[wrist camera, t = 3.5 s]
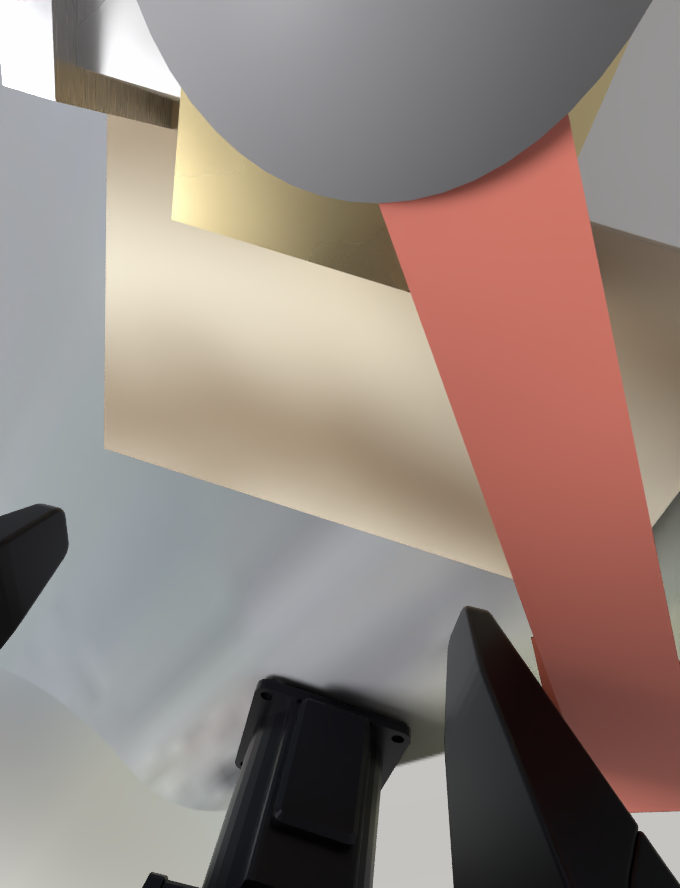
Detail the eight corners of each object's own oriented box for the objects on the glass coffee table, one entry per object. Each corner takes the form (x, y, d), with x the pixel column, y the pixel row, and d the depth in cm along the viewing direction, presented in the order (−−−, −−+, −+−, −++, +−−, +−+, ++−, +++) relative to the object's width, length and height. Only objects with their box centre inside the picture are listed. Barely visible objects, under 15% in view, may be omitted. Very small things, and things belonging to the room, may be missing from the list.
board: (583, 579, 15) (592, 604, 14) (123, 433, 15) (103, 448, 14) (1148, -200, 7) (1254, -258, 6) (153, -472, 7) (114, -565, 6)
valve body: (738, 353, 11) (921, 449, 7) (140, 171, 11) (-25, 159, 7) (987, 3, 8) (1586, -198, 4) (157, -233, 8) (-113, -653, 4)
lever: (728, 684, 9) (811, 822, 7) (506, 707, 10) (525, 829, 8) (556, -478, 4) (695, -1208, 2) (154, -128, 5) (-20, -327, 3)
